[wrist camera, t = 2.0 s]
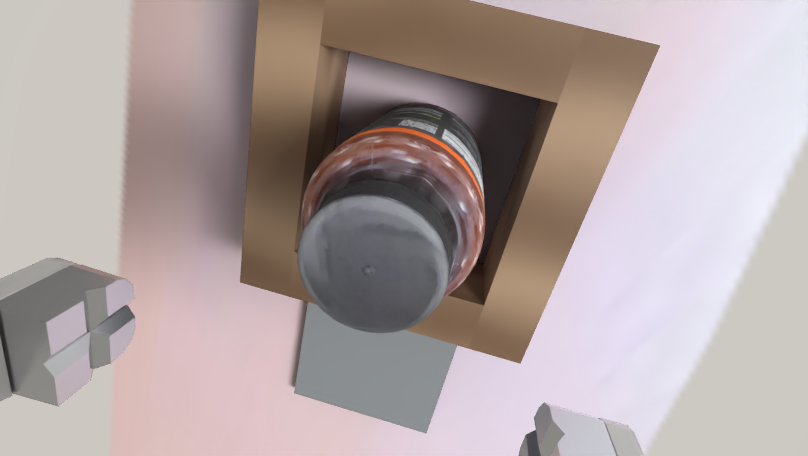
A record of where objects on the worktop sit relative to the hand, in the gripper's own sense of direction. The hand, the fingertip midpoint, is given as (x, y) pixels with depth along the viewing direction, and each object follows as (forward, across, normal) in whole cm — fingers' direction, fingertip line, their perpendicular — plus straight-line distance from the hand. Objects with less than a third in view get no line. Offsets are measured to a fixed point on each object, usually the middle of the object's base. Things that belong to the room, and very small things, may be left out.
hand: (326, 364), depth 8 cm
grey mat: (+14, 0, +12) cm, 19 cm away
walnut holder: (+14, 0, -1) cm, 14 cm away
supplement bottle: (+14, 0, -1) cm, 14 cm away
